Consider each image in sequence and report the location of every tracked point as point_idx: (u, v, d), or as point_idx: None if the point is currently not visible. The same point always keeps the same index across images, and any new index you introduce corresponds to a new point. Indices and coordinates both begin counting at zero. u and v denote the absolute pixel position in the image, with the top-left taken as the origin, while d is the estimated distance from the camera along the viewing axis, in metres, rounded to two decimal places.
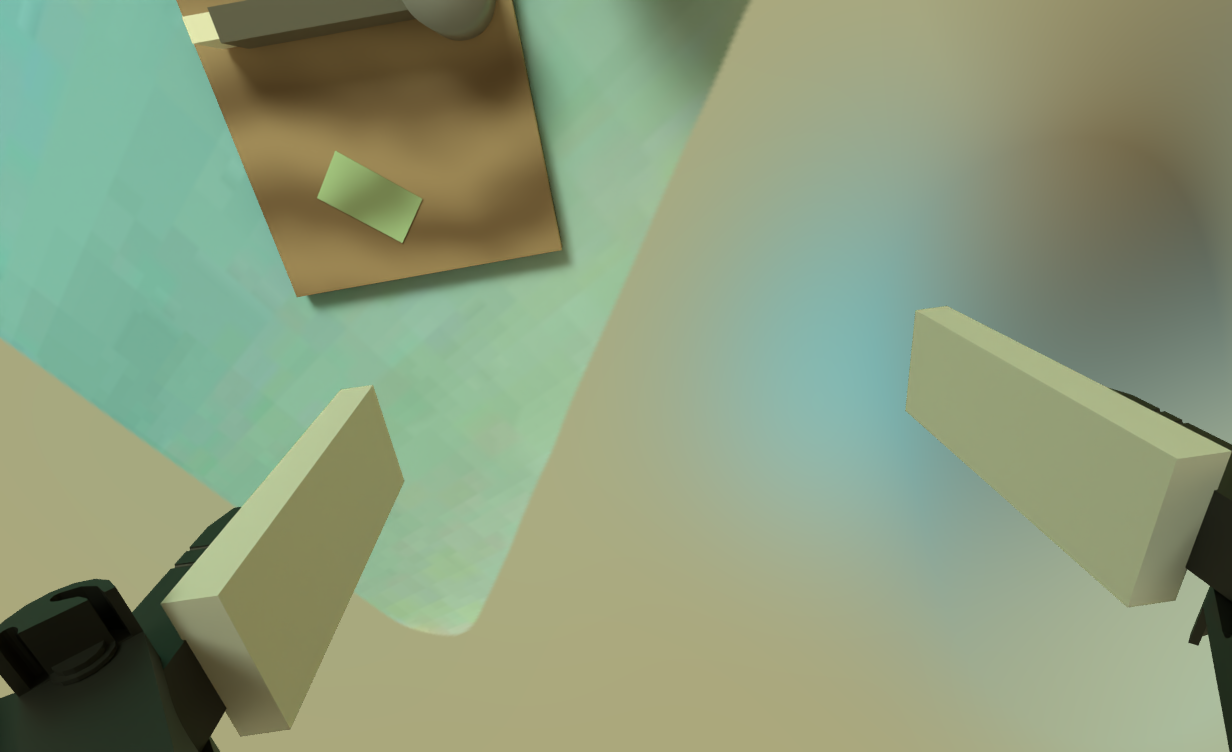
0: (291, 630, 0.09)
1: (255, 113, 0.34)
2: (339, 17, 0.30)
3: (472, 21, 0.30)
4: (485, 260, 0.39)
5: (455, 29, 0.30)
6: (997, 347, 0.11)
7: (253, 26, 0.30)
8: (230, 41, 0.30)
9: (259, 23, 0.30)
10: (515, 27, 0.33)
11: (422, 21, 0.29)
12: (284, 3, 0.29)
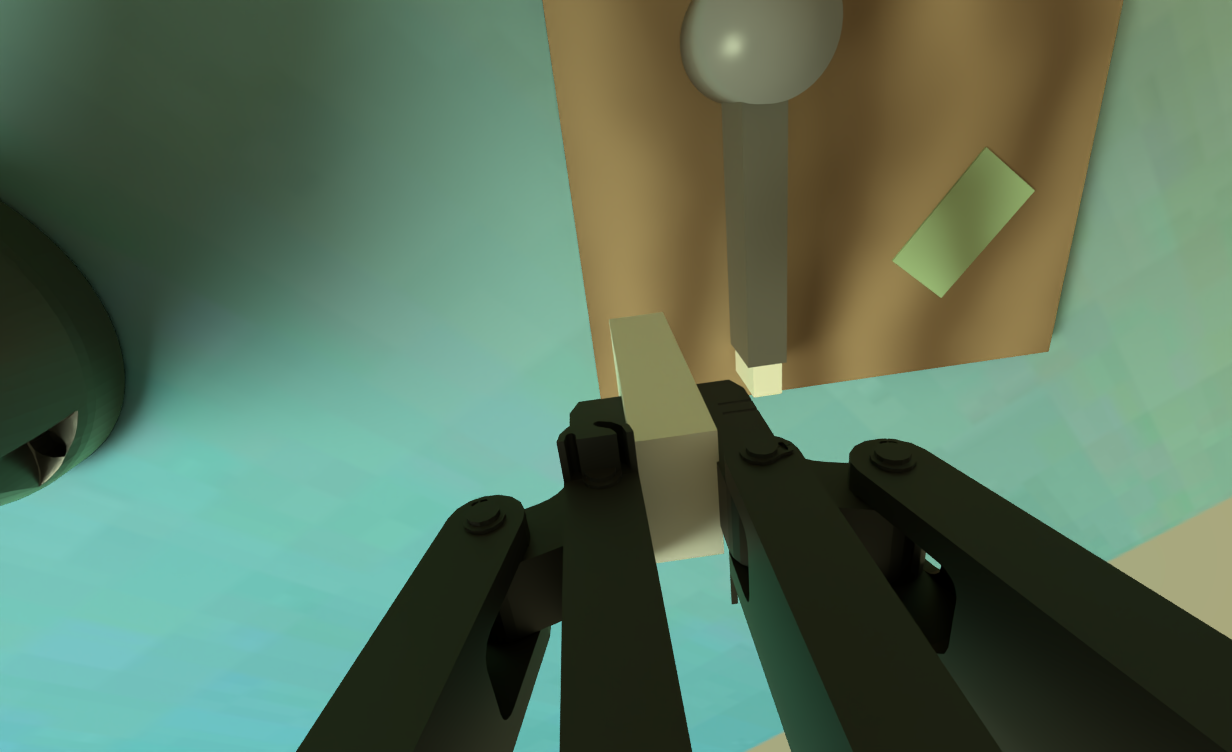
0: None
1: (828, 348, 0.27)
2: (782, 206, 0.21)
3: None
4: (1107, 53, 0.23)
5: (842, 12, 0.18)
6: (658, 347, 0.14)
7: (775, 320, 0.23)
8: (785, 351, 0.24)
9: (773, 312, 0.23)
10: None
11: (821, 70, 0.19)
12: (756, 276, 0.22)
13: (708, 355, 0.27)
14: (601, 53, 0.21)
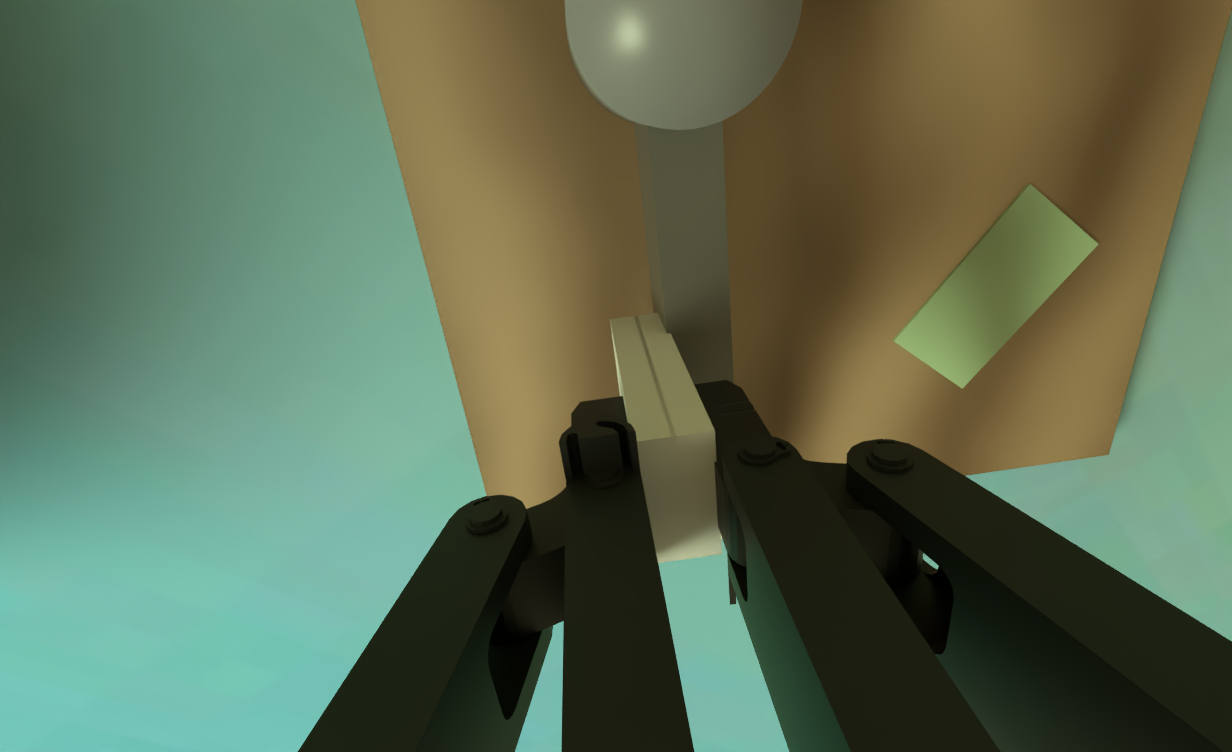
0: None
1: (805, 454, 0.20)
2: (721, 282, 0.14)
3: None
4: (1213, 46, 0.15)
5: None
6: (656, 348, 0.14)
7: None
8: None
9: None
10: None
11: (770, 74, 0.11)
12: None
13: None
14: (447, 50, 0.14)
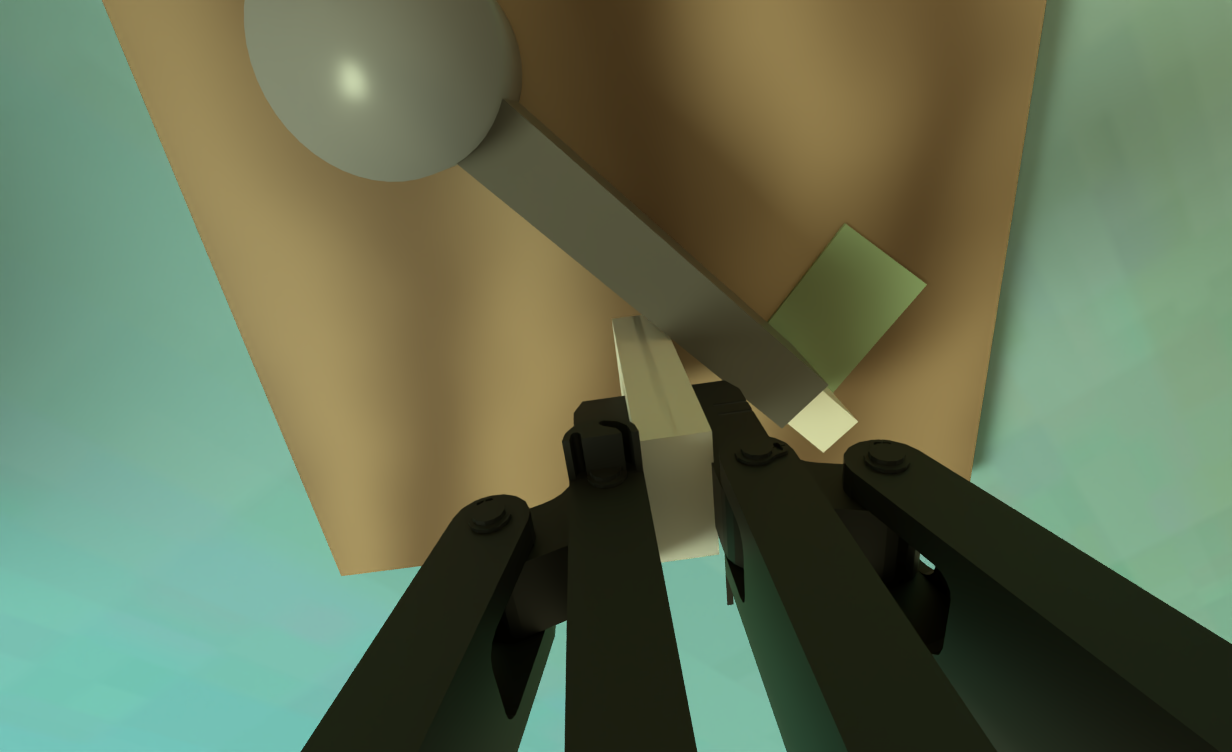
0: None
1: None
2: (632, 226, 0.13)
3: None
4: (1025, 85, 0.15)
5: None
6: (654, 348, 0.13)
7: (763, 353, 0.14)
8: (814, 373, 0.14)
9: (750, 347, 0.14)
10: None
11: (492, 35, 0.10)
12: (685, 327, 0.14)
13: None
14: (220, 90, 0.14)
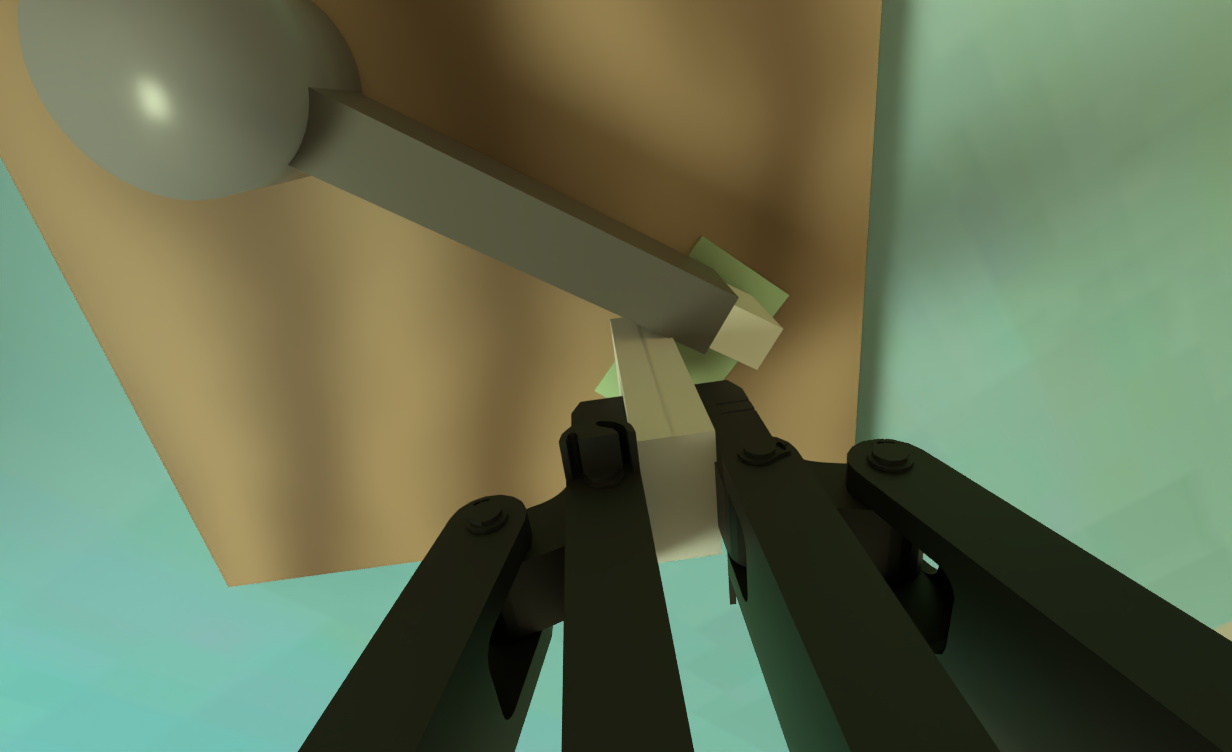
0: None
1: (529, 501, 0.20)
2: (480, 182, 0.12)
3: None
4: (868, 99, 0.15)
5: None
6: (656, 348, 0.14)
7: (658, 280, 0.13)
8: (721, 289, 0.14)
9: (643, 277, 0.13)
10: None
11: (260, 23, 0.10)
12: (569, 273, 0.13)
13: (357, 512, 0.19)
14: None
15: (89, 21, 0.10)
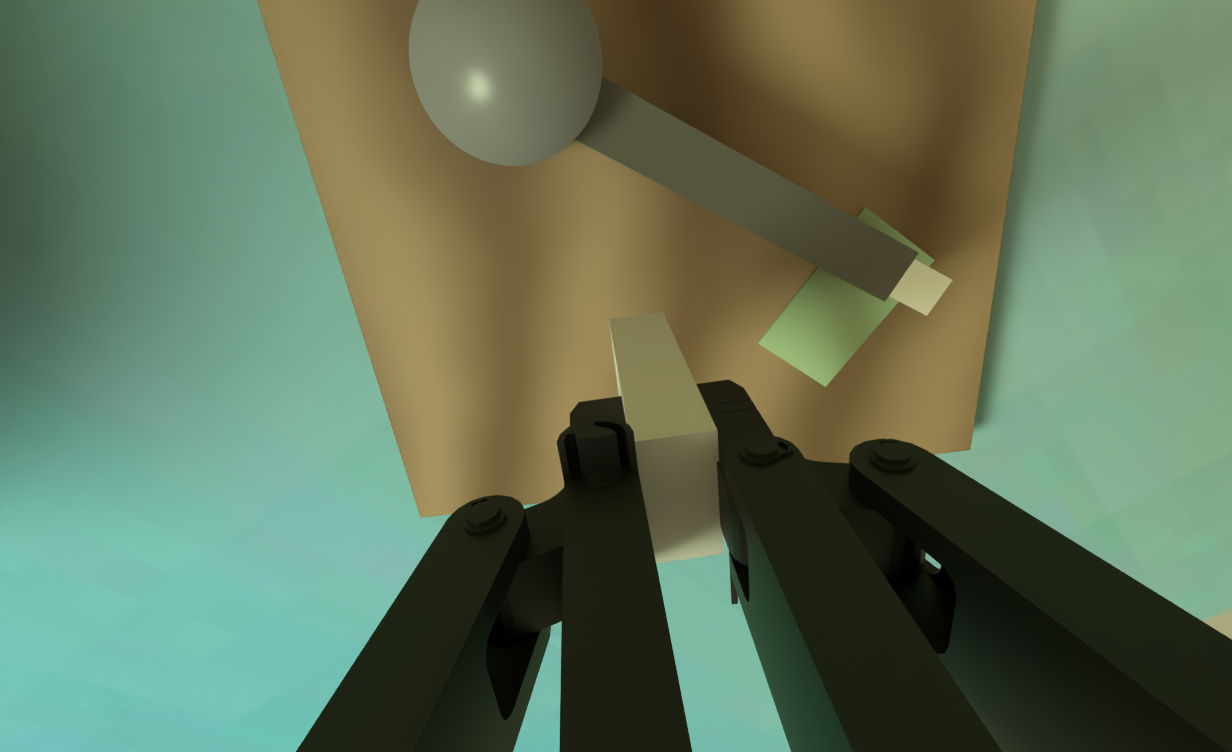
0: None
1: None
2: (723, 153, 0.15)
3: None
4: (1017, 90, 0.18)
5: None
6: (658, 348, 0.14)
7: (854, 237, 0.16)
8: (904, 245, 0.16)
9: (843, 234, 0.16)
10: None
11: (591, 25, 0.13)
12: (783, 231, 0.16)
13: (540, 451, 0.22)
14: (352, 94, 0.17)
15: (464, 24, 0.13)
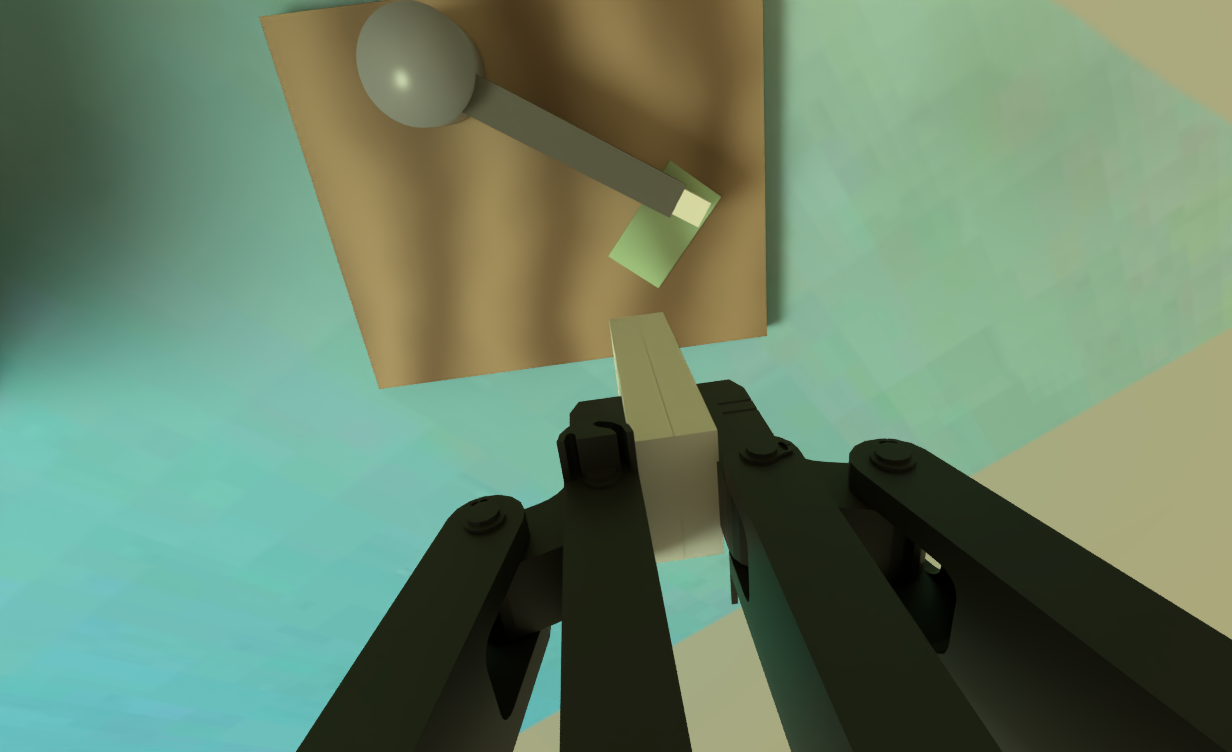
0: None
1: (568, 331, 0.32)
2: (555, 121, 0.25)
3: None
4: (759, 82, 0.27)
5: (430, 7, 0.22)
6: (658, 348, 0.14)
7: (644, 175, 0.26)
8: (677, 180, 0.26)
9: (636, 173, 0.26)
10: None
11: (463, 44, 0.22)
12: (598, 170, 0.26)
13: (462, 337, 0.32)
14: (324, 84, 0.26)
15: (388, 43, 0.22)
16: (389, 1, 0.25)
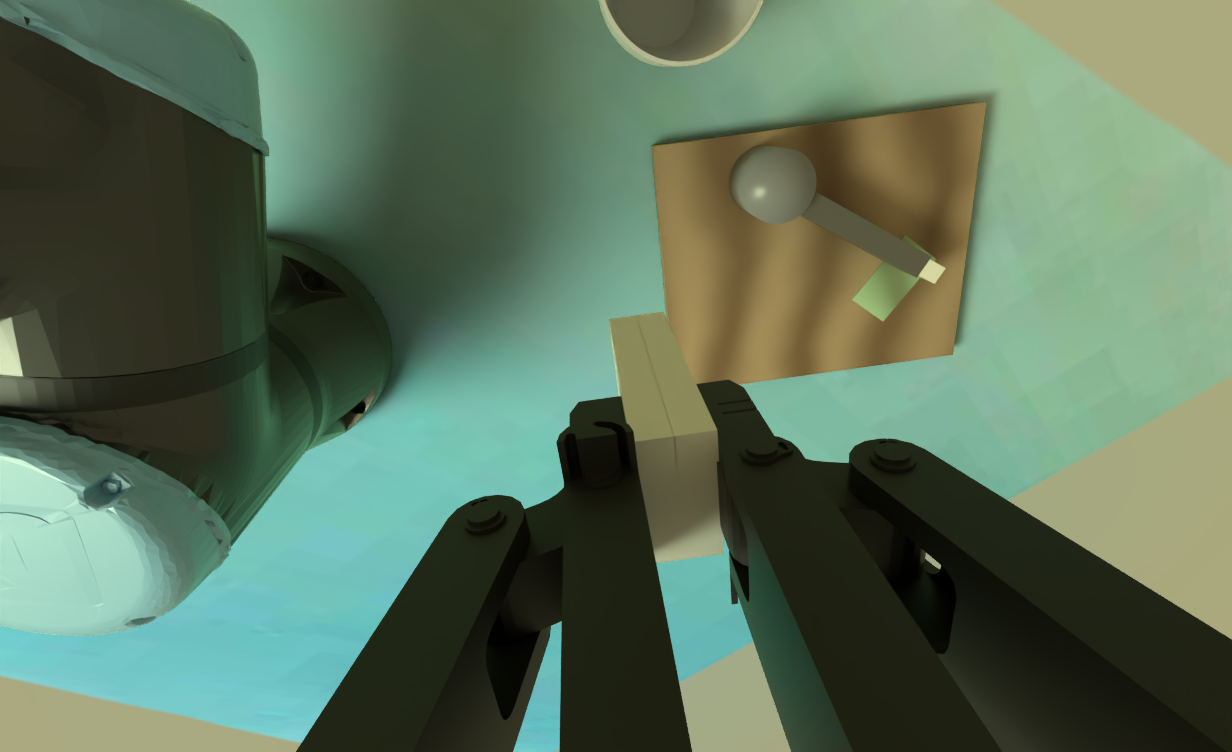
0: None
1: (814, 352, 0.44)
2: (854, 217, 0.37)
3: (782, 148, 0.34)
4: (972, 184, 0.40)
5: (798, 152, 0.34)
6: (658, 348, 0.14)
7: (905, 250, 0.38)
8: (925, 253, 0.39)
9: (900, 249, 0.38)
10: (790, 129, 0.38)
11: (814, 173, 0.35)
12: (876, 248, 0.38)
13: (740, 356, 0.44)
14: (685, 188, 0.39)
15: (767, 174, 0.35)
16: (739, 136, 0.38)
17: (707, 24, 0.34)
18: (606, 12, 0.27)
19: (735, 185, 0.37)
